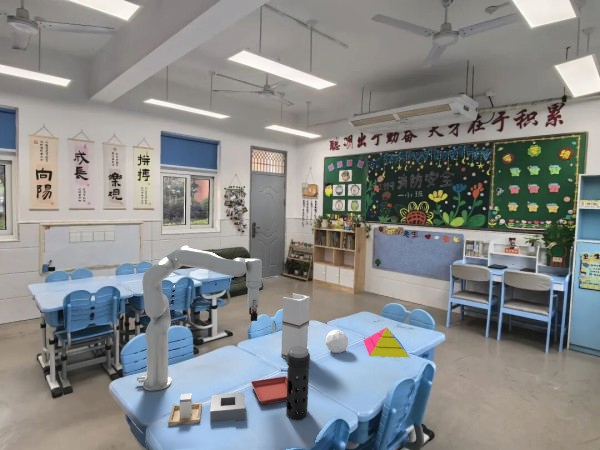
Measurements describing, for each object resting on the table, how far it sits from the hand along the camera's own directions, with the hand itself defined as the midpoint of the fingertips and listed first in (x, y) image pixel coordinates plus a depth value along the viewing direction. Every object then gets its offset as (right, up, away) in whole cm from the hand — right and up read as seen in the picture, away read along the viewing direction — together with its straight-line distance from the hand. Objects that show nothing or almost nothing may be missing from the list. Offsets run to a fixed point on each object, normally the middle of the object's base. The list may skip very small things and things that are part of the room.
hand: (253, 317), depth 179 cm
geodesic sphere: (+45, -30, +36) cm, 65 cm away
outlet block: (-7, -33, -27) cm, 44 cm away
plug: (-24, -32, -31) cm, 51 cm away
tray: (-24, -33, -31) cm, 51 cm away
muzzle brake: (+22, -34, -26) cm, 49 cm away
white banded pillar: (+20, -30, +28) cm, 46 cm away
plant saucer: (+11, -33, -11) cm, 37 cm away
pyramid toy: (+76, -31, +43) cm, 93 cm away
